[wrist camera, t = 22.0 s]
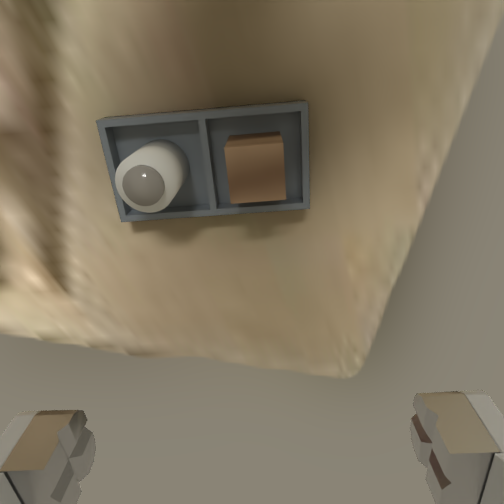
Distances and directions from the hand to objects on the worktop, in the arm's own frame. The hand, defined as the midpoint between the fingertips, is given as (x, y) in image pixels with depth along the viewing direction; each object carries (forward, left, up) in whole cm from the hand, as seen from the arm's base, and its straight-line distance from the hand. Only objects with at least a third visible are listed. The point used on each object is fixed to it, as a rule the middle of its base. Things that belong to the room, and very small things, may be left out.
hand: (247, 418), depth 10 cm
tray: (0, -4, -29) cm, 29 cm away
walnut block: (0, 0, -28) cm, 29 cm away
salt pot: (0, -9, -28) cm, 30 cm away
